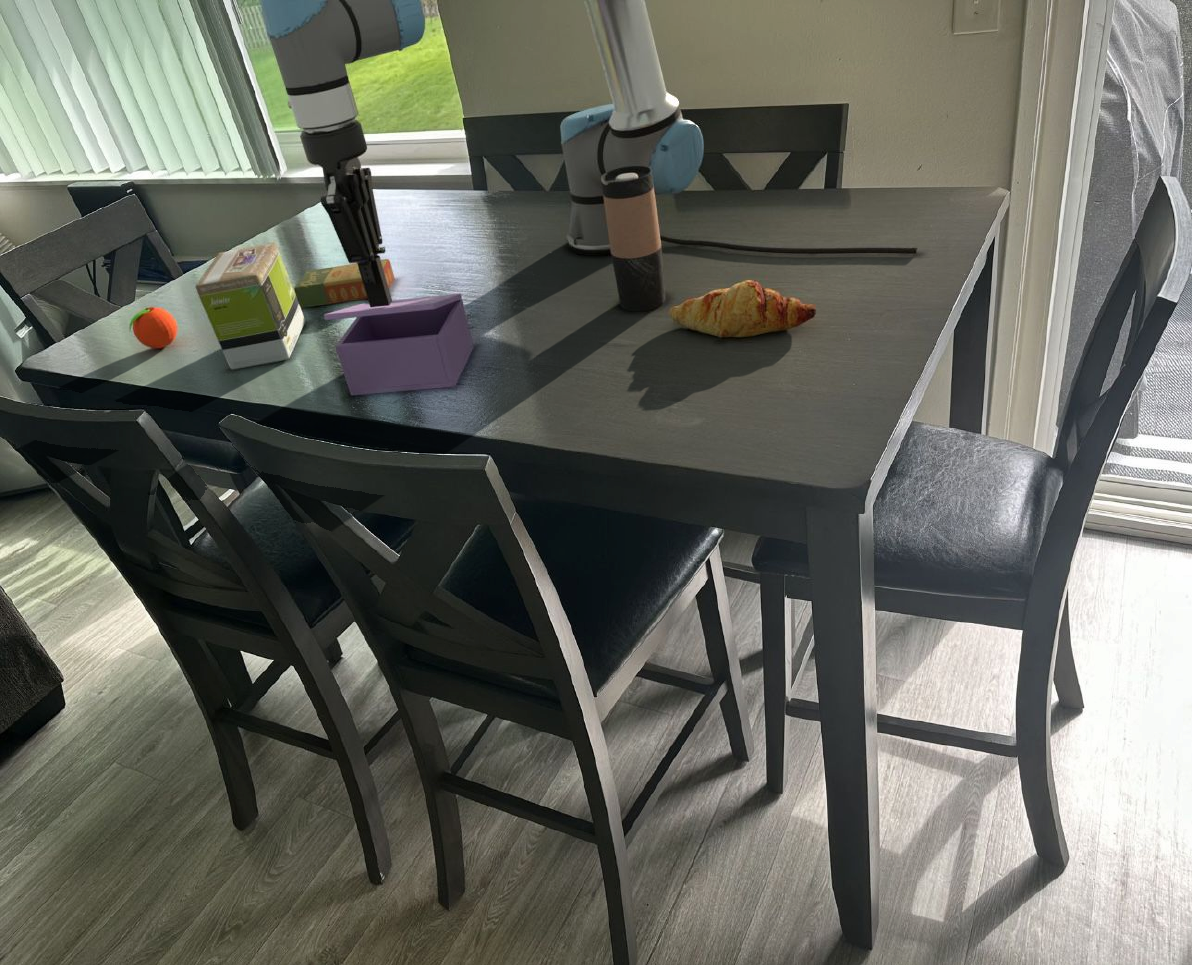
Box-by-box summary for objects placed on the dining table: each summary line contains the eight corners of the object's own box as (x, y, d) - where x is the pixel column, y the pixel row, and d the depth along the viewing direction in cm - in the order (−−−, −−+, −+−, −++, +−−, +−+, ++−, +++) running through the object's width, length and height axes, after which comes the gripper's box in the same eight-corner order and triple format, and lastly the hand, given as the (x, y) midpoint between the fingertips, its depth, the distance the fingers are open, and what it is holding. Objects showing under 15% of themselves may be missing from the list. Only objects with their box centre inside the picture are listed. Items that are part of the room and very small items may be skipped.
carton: (386, 297, 165) (379, 274, 162) (299, 309, 166) (291, 286, 164) (395, 279, 172) (389, 257, 169) (312, 290, 173) (304, 269, 171)
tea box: (250, 332, 160) (218, 250, 152) (307, 322, 160) (278, 239, 152) (228, 371, 148) (192, 283, 139) (290, 360, 147) (258, 272, 139)
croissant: (668, 354, 137) (654, 321, 130) (680, 299, 141) (667, 264, 134) (814, 354, 129) (808, 319, 122) (823, 296, 133) (817, 259, 127)
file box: (455, 386, 131) (441, 336, 127) (350, 395, 134) (334, 346, 129) (474, 346, 141) (462, 298, 137) (376, 355, 144) (362, 309, 140)
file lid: (434, 309, 124) (433, 303, 124) (324, 320, 127) (323, 314, 127) (462, 298, 137) (461, 293, 137) (362, 309, 139) (361, 303, 139)
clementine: (153, 360, 156) (135, 321, 152) (129, 355, 160) (111, 317, 156) (192, 339, 162) (175, 301, 158) (167, 335, 165) (151, 298, 161)
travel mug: (672, 291, 147) (658, 164, 136) (659, 312, 142) (643, 180, 131) (627, 292, 150) (609, 166, 139) (612, 312, 144) (592, 183, 133)
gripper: (318, 116, 120) (369, 288, 133) (280, 142, 109) (339, 326, 122) (374, 108, 119) (420, 282, 132) (340, 134, 108) (394, 321, 121)
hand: (381, 303), depth 127 cm, fingers closed
